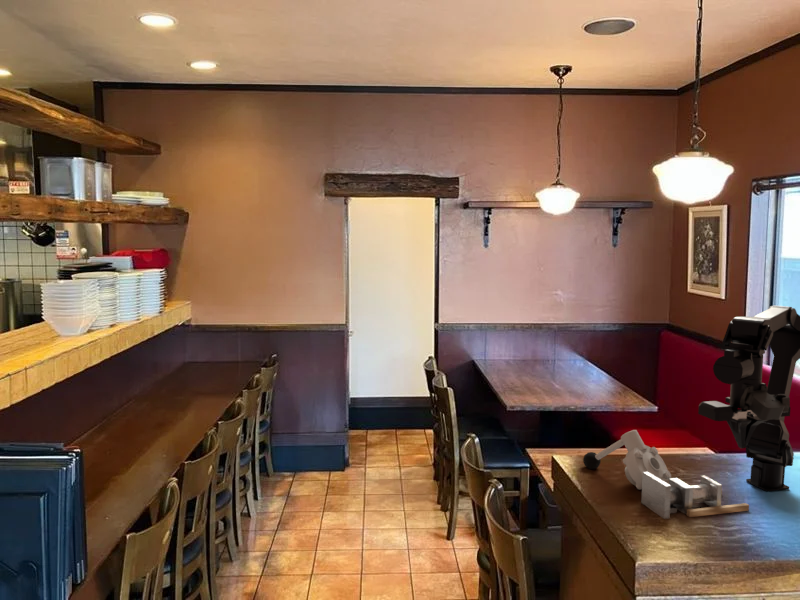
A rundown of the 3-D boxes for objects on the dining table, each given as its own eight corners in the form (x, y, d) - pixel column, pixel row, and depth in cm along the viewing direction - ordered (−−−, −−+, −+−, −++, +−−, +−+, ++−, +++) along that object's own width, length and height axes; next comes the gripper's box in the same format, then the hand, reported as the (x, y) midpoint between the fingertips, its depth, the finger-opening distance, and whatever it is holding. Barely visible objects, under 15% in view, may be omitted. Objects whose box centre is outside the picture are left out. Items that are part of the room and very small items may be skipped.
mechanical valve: (653, 488, 143) (620, 426, 150) (597, 517, 154) (569, 458, 161) (679, 481, 149) (646, 422, 156) (623, 510, 160) (594, 453, 168)
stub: (668, 500, 143) (669, 469, 143) (692, 515, 136) (694, 483, 135) (641, 502, 142) (642, 472, 141) (664, 518, 134) (665, 486, 133)
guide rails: (718, 493, 147) (719, 488, 147) (748, 510, 138) (749, 505, 138) (662, 499, 144) (663, 494, 143) (689, 517, 135) (690, 511, 135)
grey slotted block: (703, 499, 144) (704, 475, 143) (720, 509, 139) (722, 485, 138) (671, 502, 142) (672, 478, 142) (687, 513, 137) (689, 488, 136)
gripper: (737, 387, 127) (732, 464, 129) (815, 383, 132) (809, 457, 133) (698, 375, 138) (694, 446, 140) (771, 371, 143) (767, 440, 144)
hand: (741, 447), depth 139 cm, fingers closed
